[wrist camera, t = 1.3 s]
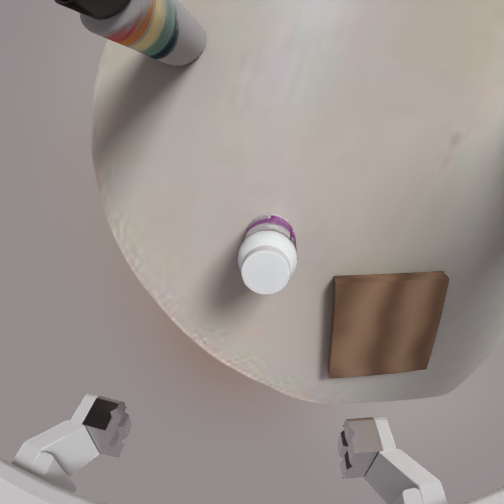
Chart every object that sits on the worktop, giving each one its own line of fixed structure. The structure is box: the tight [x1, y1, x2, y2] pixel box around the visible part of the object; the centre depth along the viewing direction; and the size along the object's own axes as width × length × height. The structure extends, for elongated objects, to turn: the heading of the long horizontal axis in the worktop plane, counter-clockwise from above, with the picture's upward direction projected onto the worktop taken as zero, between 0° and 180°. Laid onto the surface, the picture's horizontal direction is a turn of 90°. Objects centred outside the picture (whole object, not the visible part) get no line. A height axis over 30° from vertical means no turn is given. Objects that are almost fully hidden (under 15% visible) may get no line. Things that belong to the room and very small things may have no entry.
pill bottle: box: [238, 214, 297, 295], centre depth 31 cm, size 5×5×10 cm
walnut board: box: [328, 271, 449, 378], centre depth 37 cm, size 14×14×2 cm
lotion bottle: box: [55, 0, 206, 66], centre depth 19 cm, size 6×6×20 cm
